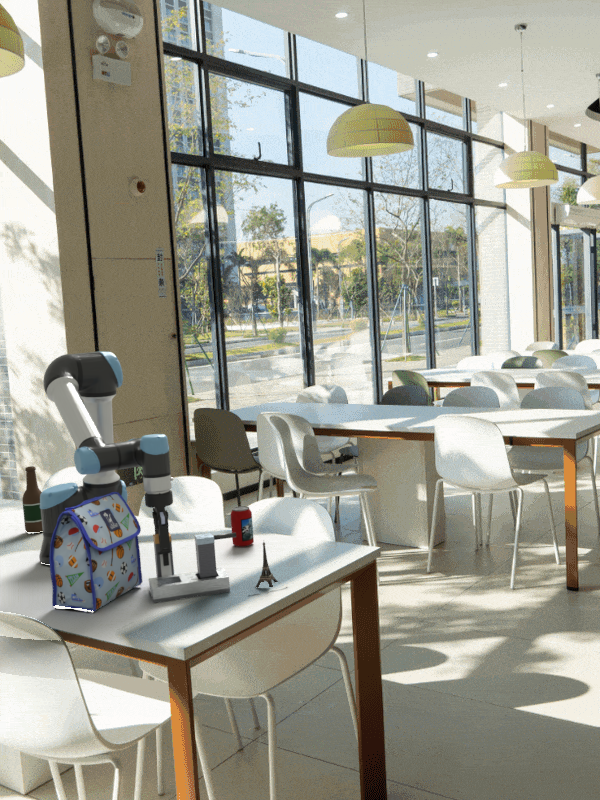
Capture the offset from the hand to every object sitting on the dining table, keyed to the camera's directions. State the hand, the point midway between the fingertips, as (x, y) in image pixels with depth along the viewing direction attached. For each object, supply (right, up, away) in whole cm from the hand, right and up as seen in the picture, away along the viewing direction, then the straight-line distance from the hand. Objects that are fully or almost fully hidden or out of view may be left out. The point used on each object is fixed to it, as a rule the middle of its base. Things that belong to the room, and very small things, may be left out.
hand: (165, 572), depth 228 cm
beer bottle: (-59, -1, +73) cm, 94 cm away
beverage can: (+19, +1, +36) cm, 40 cm away
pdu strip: (+10, -3, -8) cm, 13 cm away
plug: (0, -3, 0) cm, 3 cm away
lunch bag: (-16, -5, -9) cm, 19 cm away
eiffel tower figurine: (+29, -3, -8) cm, 30 cm away
